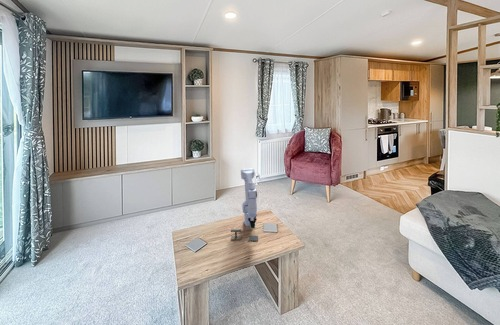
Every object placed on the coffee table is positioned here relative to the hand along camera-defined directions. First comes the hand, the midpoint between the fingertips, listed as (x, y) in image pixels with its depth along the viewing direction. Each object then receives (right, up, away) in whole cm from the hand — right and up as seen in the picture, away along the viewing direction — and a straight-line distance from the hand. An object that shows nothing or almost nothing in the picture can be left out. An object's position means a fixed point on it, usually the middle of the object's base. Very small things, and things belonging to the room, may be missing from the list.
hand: (252, 225), depth 179 cm
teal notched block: (0, -1, 0) cm, 1 cm away
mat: (0, -10, +2) cm, 10 cm away
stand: (-12, -10, +4) cm, 16 cm away
